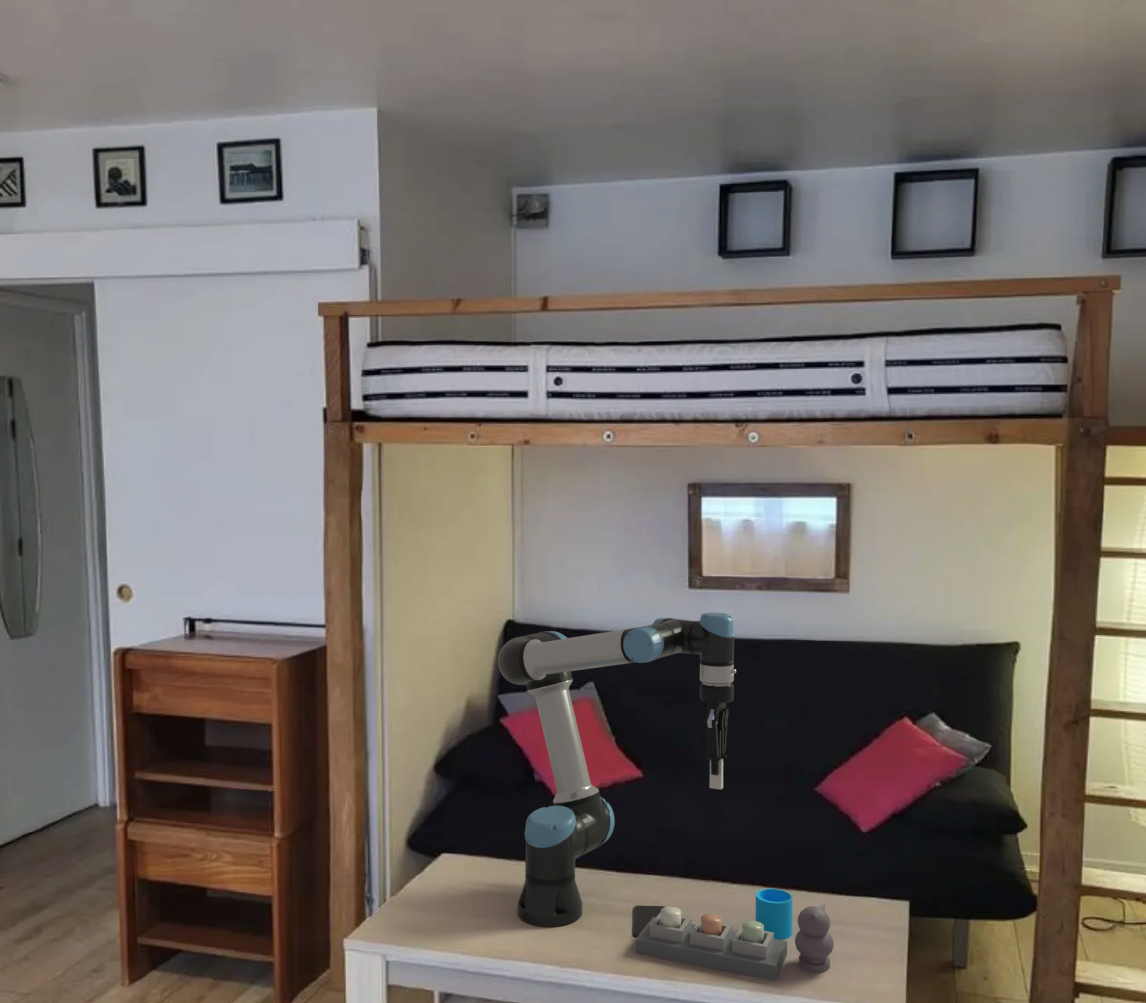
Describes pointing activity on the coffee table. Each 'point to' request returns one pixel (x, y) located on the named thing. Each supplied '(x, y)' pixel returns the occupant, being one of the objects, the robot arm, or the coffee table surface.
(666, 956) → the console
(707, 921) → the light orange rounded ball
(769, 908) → the mug
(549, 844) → the robot arm
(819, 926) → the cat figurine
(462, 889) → the coffee table surface
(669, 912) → the ivory button
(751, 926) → the sage button
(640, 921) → the smartphone
